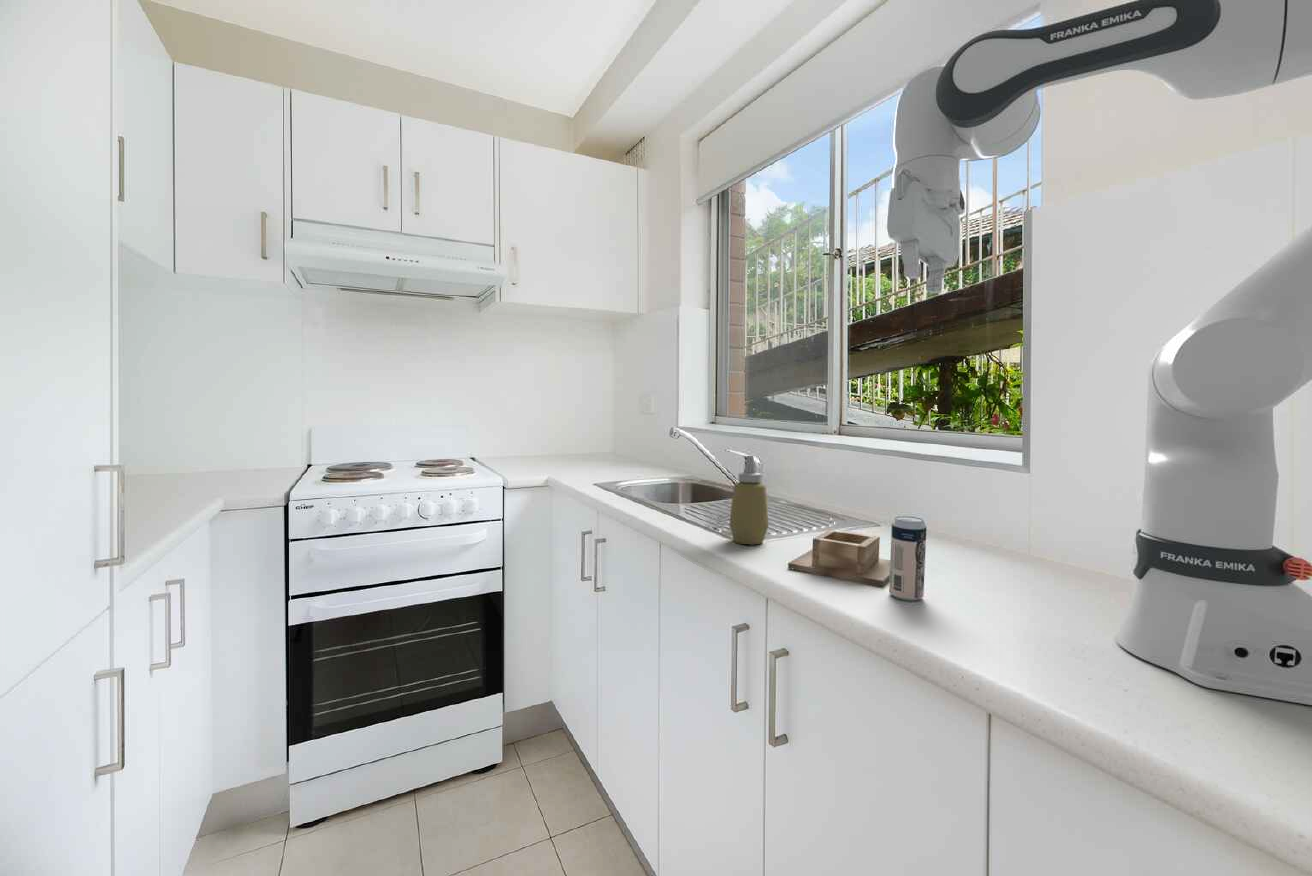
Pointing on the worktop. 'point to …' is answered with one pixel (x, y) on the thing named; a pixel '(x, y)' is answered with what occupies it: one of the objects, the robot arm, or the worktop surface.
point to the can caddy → (845, 558)
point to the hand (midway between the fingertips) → (923, 285)
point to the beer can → (907, 558)
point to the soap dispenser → (749, 507)
